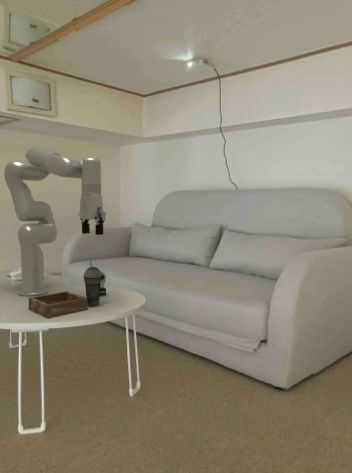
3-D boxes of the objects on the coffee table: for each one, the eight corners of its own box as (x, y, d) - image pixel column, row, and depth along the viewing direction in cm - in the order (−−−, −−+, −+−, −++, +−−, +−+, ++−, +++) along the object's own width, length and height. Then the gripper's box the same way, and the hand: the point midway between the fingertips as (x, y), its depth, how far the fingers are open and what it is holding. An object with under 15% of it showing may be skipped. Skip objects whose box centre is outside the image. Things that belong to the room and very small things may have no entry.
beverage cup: (94, 308, 144) (93, 257, 143) (79, 306, 148) (79, 256, 146) (106, 304, 151) (105, 255, 149) (92, 302, 154) (91, 254, 153)
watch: (96, 297, 161) (96, 272, 160) (88, 294, 168) (88, 270, 167) (108, 295, 165) (108, 271, 164) (100, 292, 171) (100, 268, 170)
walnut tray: (28, 309, 143) (28, 297, 143) (66, 301, 154) (66, 291, 154) (48, 318, 132) (47, 306, 131) (87, 309, 143) (87, 298, 143)
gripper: (71, 190, 149) (72, 233, 150) (95, 189, 137) (96, 235, 138) (88, 191, 154) (88, 232, 155) (112, 189, 142) (113, 234, 143)
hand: (92, 234), depth 147 cm, fingers open, 9 cm apart
